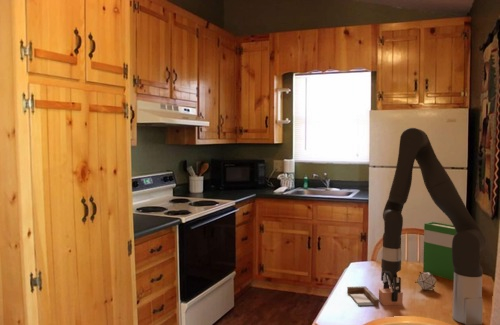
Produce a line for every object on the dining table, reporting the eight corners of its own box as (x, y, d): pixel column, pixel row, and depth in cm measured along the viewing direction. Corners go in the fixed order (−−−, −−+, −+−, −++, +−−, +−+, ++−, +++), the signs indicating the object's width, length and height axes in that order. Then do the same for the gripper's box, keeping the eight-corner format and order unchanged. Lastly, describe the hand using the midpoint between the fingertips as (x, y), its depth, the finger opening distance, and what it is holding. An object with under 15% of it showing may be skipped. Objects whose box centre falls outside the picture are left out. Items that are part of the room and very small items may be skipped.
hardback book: (466, 278, 200) (468, 227, 198) (458, 281, 195) (460, 230, 194) (431, 269, 214) (432, 221, 212) (423, 271, 210) (424, 223, 208)
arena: (378, 305, 169) (378, 299, 168) (358, 306, 168) (358, 300, 168) (365, 291, 183) (365, 286, 183) (347, 292, 183) (347, 286, 183)
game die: (430, 299, 184) (441, 286, 178) (411, 291, 186) (421, 277, 179) (431, 283, 191) (441, 270, 185) (412, 276, 192) (422, 262, 186)
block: (402, 304, 170) (402, 292, 170) (382, 305, 170) (382, 292, 169) (398, 300, 174) (398, 288, 174) (378, 300, 174) (378, 288, 174)
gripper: (408, 263, 164) (406, 304, 166) (393, 252, 179) (392, 290, 180) (389, 263, 164) (387, 304, 165) (375, 252, 178) (374, 290, 179)
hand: (390, 297), depth 172 cm, fingers open, 8 cm apart
